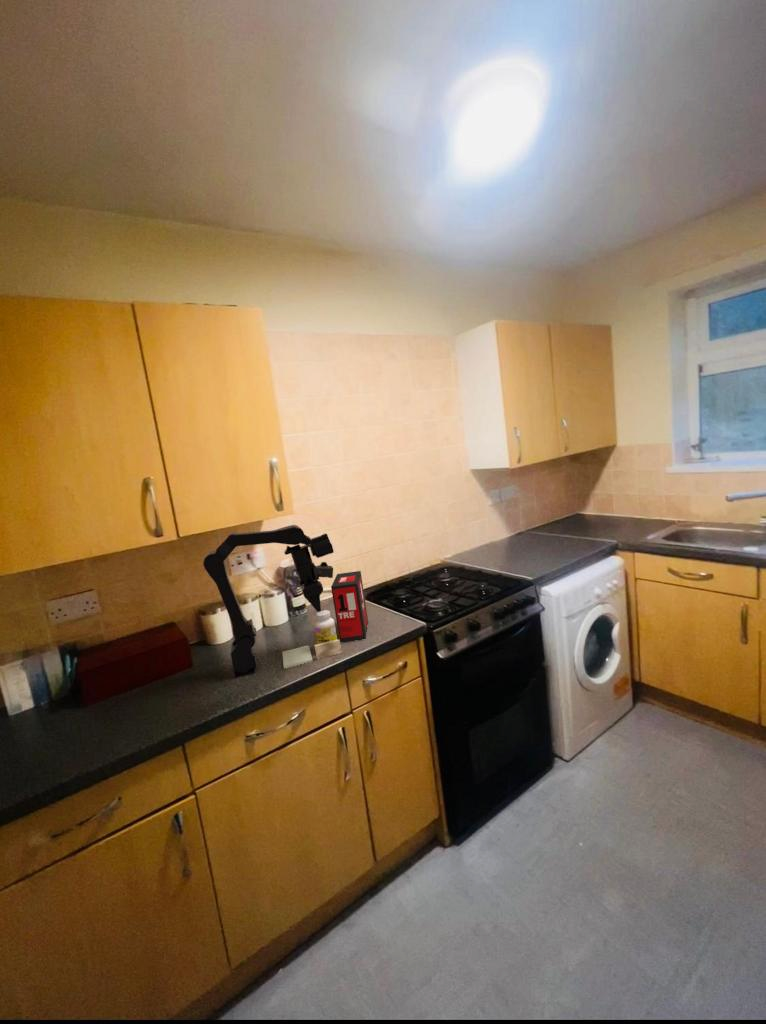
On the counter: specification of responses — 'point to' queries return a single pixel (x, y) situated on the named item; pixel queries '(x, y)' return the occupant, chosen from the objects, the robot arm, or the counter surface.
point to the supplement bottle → (325, 627)
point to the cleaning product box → (350, 606)
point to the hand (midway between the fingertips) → (317, 607)
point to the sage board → (296, 656)
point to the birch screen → (328, 649)
